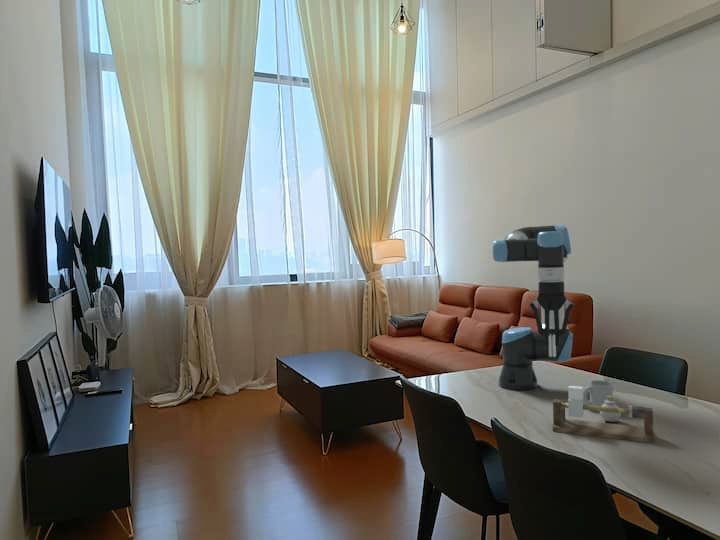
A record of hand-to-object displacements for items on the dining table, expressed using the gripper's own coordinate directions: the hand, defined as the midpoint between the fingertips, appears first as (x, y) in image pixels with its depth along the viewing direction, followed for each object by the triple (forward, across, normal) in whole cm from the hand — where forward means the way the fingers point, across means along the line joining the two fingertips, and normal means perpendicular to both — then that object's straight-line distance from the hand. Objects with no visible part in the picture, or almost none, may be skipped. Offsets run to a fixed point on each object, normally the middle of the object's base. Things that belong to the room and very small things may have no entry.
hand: (552, 355), depth 157 cm
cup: (+23, +12, +22) cm, 34 cm away
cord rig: (+22, +14, 0) cm, 26 cm away
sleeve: (+18, +7, 0) cm, 19 cm away
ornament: (+23, +16, +10) cm, 29 cm away
